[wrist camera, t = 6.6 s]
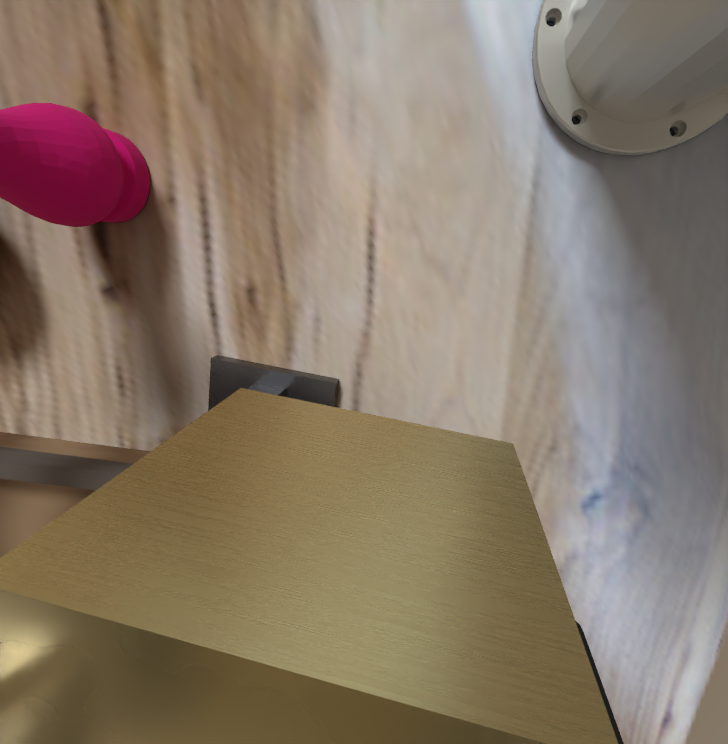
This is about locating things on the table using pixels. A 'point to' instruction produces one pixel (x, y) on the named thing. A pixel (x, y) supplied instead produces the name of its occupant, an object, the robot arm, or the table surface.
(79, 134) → the pepper mill
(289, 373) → the stand
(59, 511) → the beam
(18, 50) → the table surface
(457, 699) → the block
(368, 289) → the table surface
